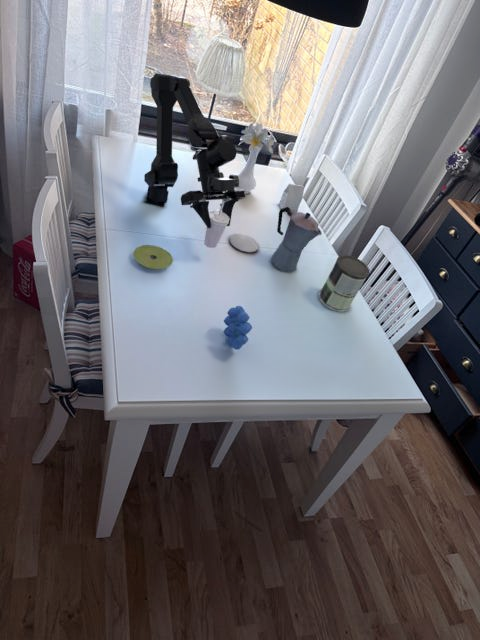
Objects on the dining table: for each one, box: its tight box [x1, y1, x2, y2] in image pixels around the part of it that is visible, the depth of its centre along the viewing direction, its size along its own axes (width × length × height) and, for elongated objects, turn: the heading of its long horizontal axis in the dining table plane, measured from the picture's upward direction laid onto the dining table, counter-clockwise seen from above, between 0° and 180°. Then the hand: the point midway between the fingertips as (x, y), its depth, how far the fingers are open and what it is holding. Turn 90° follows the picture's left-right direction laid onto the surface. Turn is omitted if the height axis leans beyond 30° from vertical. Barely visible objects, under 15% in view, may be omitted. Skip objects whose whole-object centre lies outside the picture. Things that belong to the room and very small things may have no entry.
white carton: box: [278, 183, 306, 212], centre depth 185 cm, size 4×7×10 cm, turn 107°
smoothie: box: [203, 201, 230, 249], centre depth 137 cm, size 6×6×14 cm
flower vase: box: [234, 122, 275, 194], centre depth 181 cm, size 13×18×25 cm
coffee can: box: [318, 254, 370, 313], centre depth 145 cm, size 10×10×14 cm
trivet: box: [228, 233, 259, 254], centre depth 158 cm, size 10×10×1 cm
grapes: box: [222, 305, 253, 350], centre depth 118 cm, size 12×7×12 cm, turn 18°
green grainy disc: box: [132, 244, 174, 270], centre depth 137 cm, size 11×11×2 cm
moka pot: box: [270, 207, 322, 273], centre depth 151 cm, size 10×15×20 cm, turn 58°
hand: (218, 227), depth 136 cm, fingers closed on smoothie, 6 cm apart
